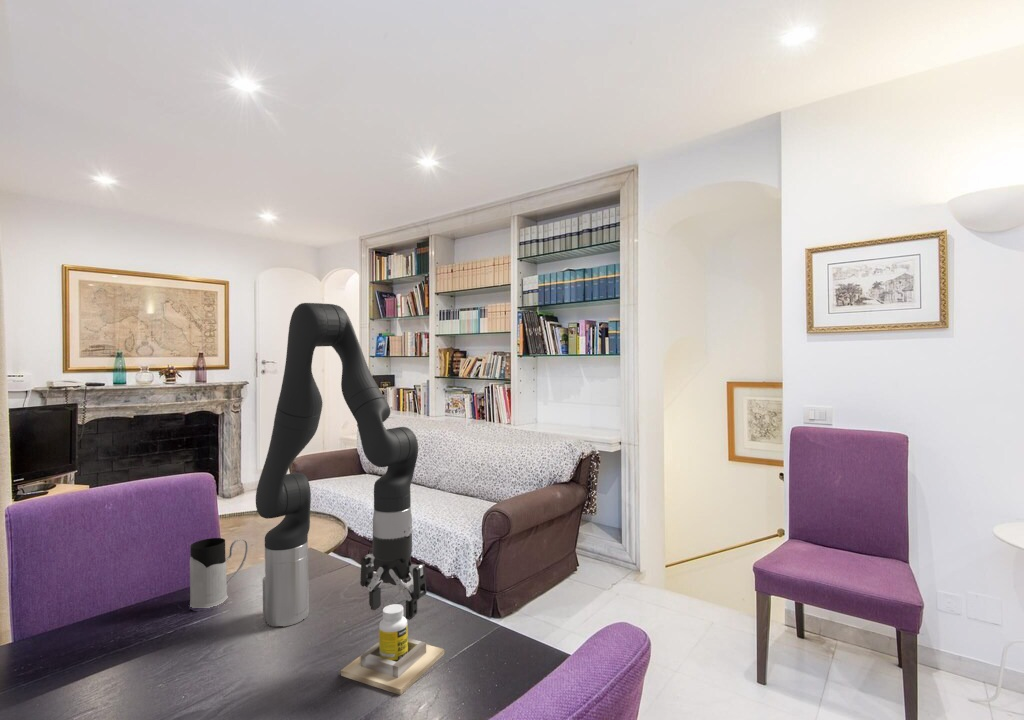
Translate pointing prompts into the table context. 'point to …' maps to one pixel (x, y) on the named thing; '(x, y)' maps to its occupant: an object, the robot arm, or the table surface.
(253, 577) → the table surface
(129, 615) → the table surface
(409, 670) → the socket stand
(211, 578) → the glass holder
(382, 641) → the supplement bottle
